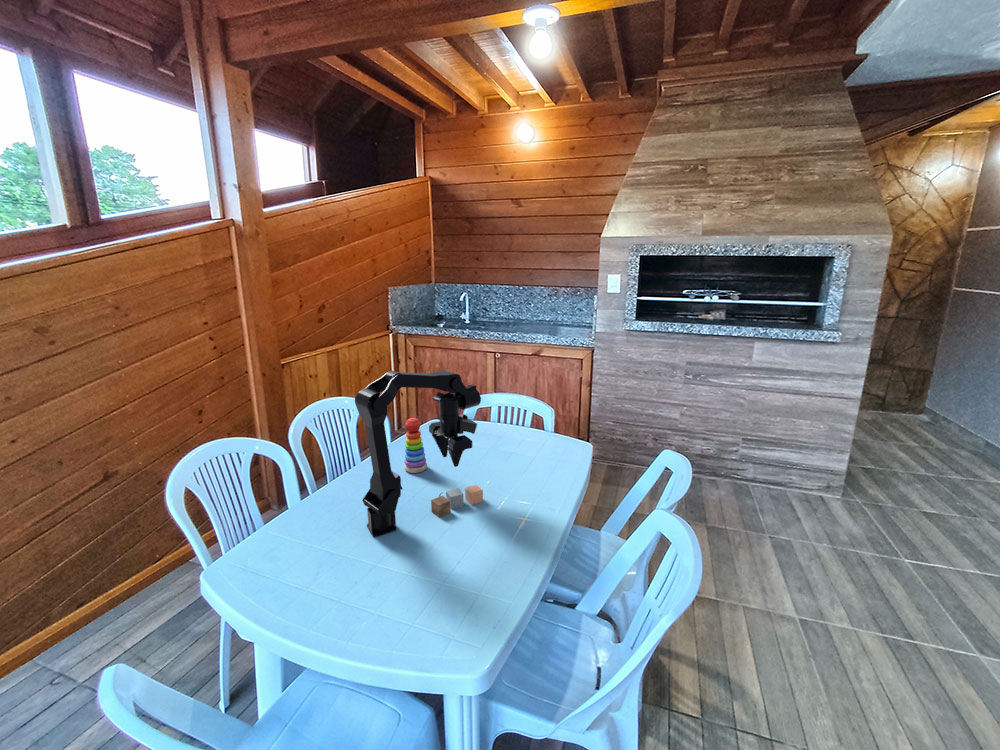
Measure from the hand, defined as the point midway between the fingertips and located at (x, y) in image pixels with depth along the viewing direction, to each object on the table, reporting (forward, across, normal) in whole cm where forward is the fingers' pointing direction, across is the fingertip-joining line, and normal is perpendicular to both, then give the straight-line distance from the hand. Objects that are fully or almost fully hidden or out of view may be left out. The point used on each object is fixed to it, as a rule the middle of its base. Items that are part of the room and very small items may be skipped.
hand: (450, 461), depth 145 cm
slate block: (+12, -5, +1) cm, 13 cm away
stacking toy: (+12, +24, +2) cm, 27 cm away
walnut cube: (+12, -7, +6) cm, 15 cm away
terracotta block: (+12, -6, -5) cm, 14 cm away
